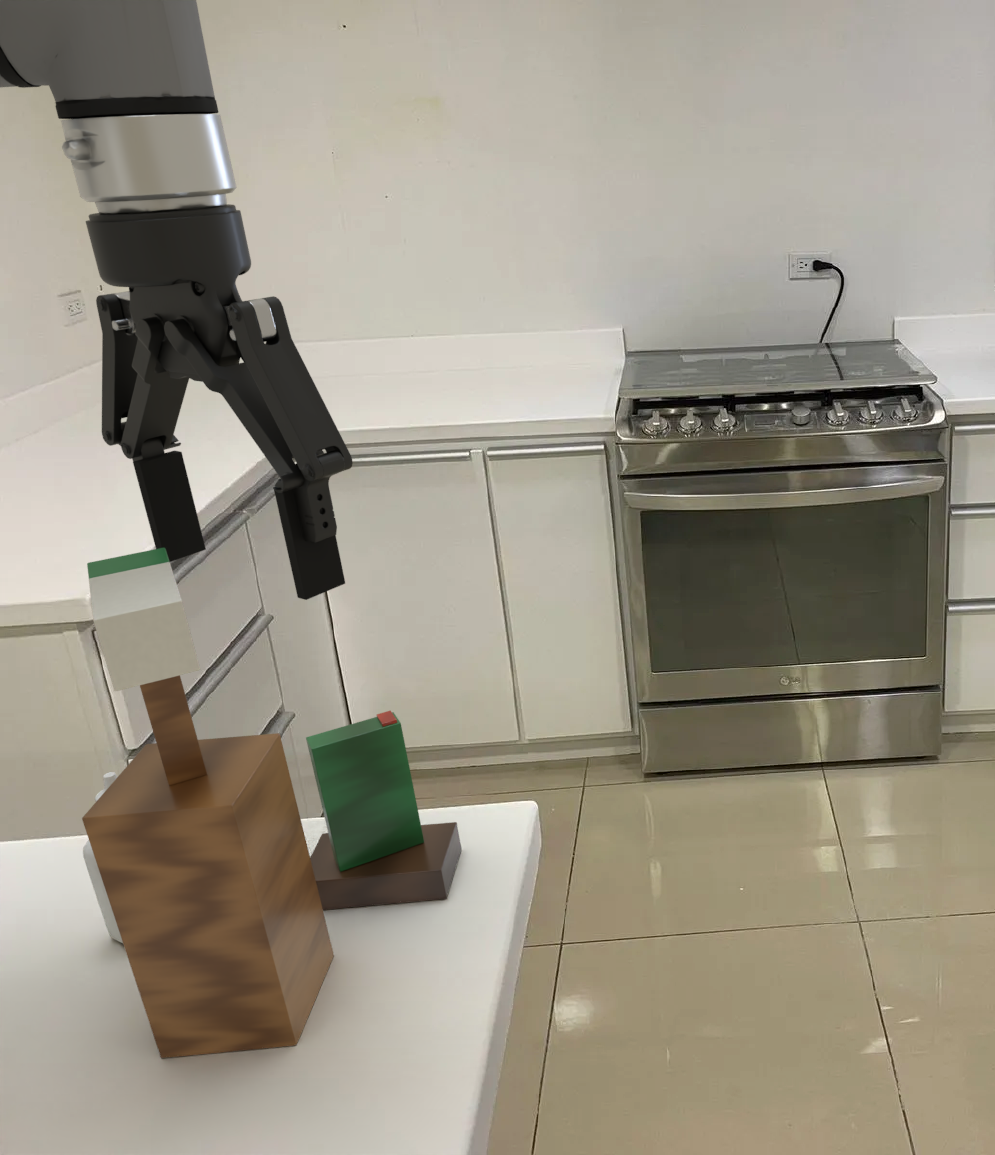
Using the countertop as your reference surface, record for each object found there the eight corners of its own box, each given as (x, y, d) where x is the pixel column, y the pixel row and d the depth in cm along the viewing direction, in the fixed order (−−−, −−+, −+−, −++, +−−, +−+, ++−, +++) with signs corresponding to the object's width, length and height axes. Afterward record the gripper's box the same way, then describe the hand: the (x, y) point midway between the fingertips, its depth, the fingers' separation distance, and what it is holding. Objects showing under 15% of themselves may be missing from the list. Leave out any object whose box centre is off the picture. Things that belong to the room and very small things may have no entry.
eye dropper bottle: (110, 918, 80) (61, 773, 76) (196, 890, 83) (154, 748, 78) (111, 953, 77) (60, 803, 72) (201, 923, 79) (157, 776, 75)
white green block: (200, 670, 59) (182, 600, 57) (114, 692, 57) (93, 620, 56) (181, 609, 67) (164, 546, 65) (105, 627, 65) (86, 562, 64)
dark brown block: (304, 911, 80) (296, 882, 79) (328, 860, 85) (321, 833, 84) (446, 899, 80) (441, 870, 79) (461, 849, 86) (456, 821, 85)
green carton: (340, 872, 79) (310, 746, 76) (334, 858, 81) (304, 734, 77) (424, 842, 82) (400, 719, 78) (417, 829, 84) (392, 708, 80)
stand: (160, 1058, 67) (37, 686, 58) (212, 966, 75) (110, 623, 65) (296, 1045, 68) (196, 674, 58) (334, 955, 75) (250, 613, 66)
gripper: (-29, 211, 64) (75, 561, 71) (243, 208, 51) (332, 633, 59) (102, 201, 69) (185, 525, 77) (374, 196, 57) (440, 584, 65)
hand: (249, 572), depth 68 cm, fingers open, 13 cm apart
